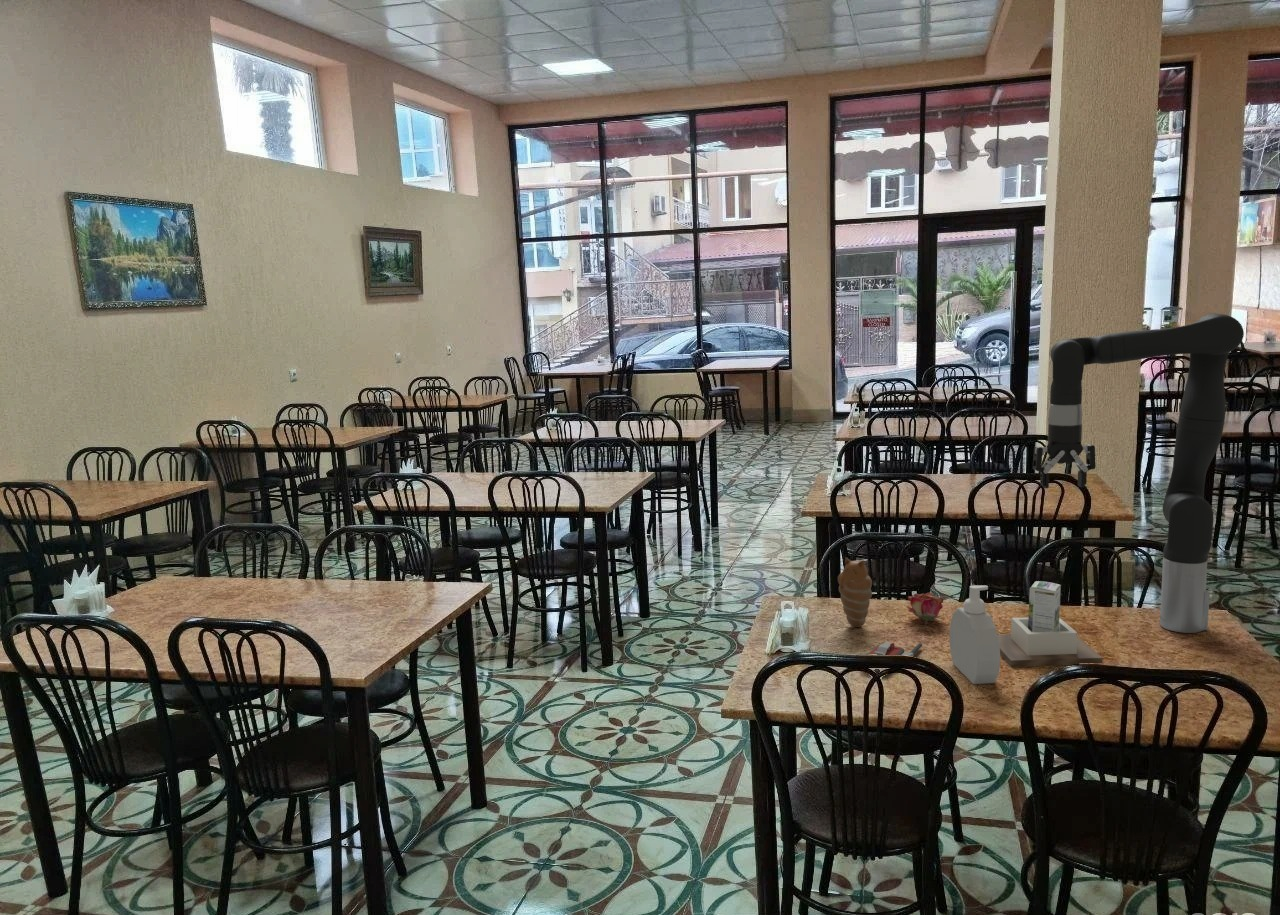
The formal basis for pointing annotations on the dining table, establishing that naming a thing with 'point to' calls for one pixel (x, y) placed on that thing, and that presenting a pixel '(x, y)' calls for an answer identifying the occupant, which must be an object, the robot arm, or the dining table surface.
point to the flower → (925, 606)
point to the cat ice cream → (855, 591)
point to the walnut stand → (1020, 658)
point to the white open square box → (1044, 639)
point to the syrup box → (1044, 607)
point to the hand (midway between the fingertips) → (1063, 487)
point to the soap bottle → (975, 640)
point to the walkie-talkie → (892, 650)
